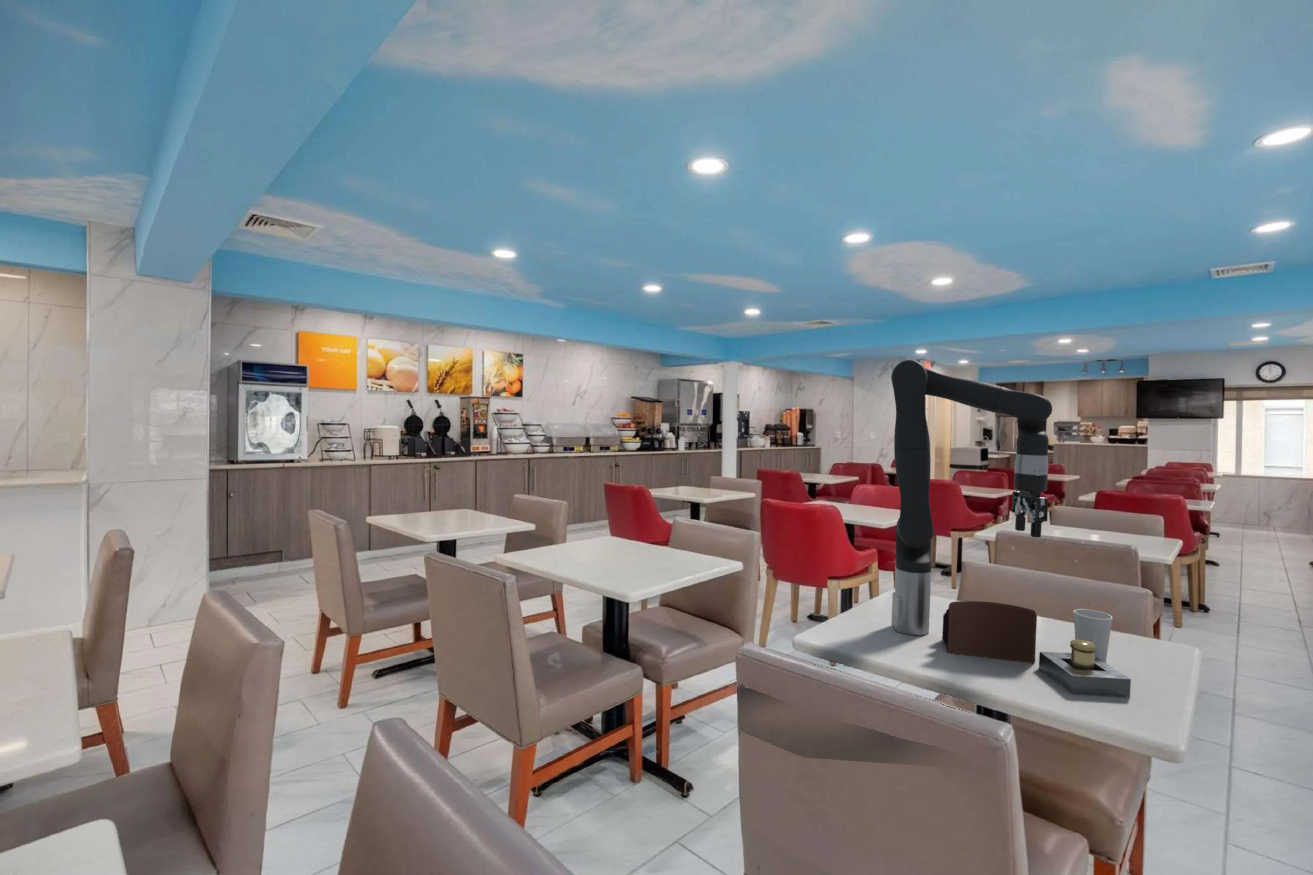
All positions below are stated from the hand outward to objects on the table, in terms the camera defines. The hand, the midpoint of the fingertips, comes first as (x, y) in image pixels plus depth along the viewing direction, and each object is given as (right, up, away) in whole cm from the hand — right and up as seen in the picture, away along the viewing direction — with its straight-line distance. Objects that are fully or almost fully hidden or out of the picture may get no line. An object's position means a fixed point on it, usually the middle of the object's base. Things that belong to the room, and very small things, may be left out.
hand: (1027, 533), depth 165 cm
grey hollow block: (0, -31, -21) cm, 37 cm away
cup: (+11, -31, -8) cm, 33 cm away
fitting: (0, -31, -20) cm, 37 cm away
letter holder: (-12, -30, -3) cm, 33 cm away
